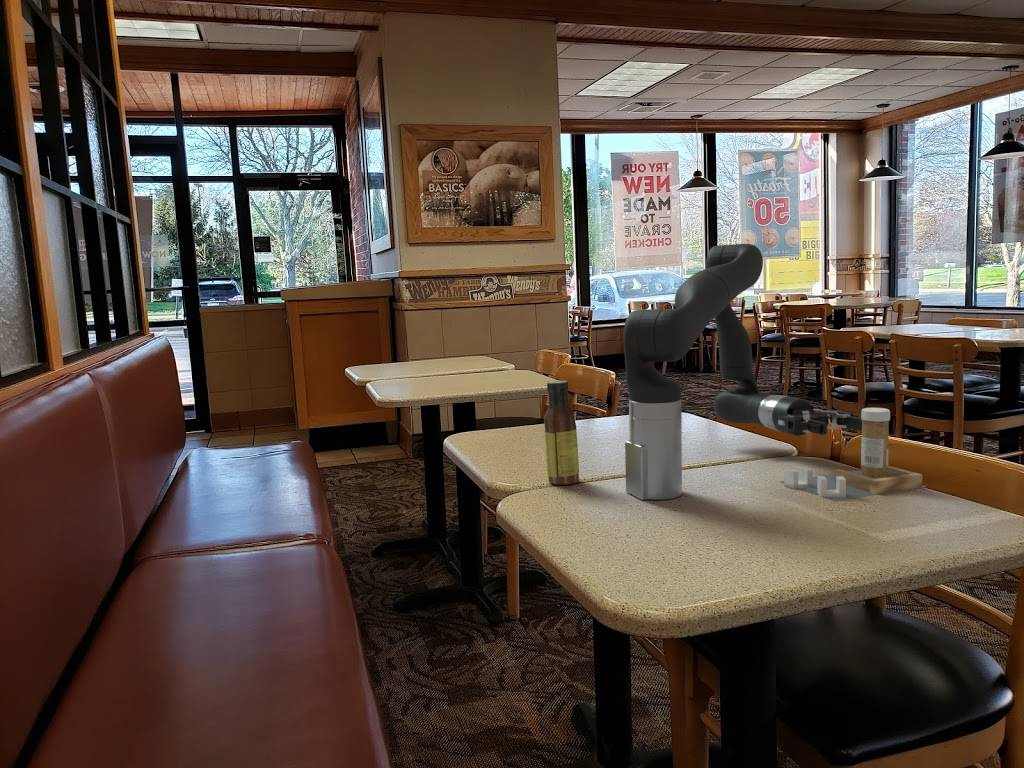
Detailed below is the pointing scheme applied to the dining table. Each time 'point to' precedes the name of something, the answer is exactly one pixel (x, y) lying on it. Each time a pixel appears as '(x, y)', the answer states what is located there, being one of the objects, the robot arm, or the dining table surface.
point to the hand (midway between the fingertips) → (844, 427)
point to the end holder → (882, 480)
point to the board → (848, 488)
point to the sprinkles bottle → (875, 442)
